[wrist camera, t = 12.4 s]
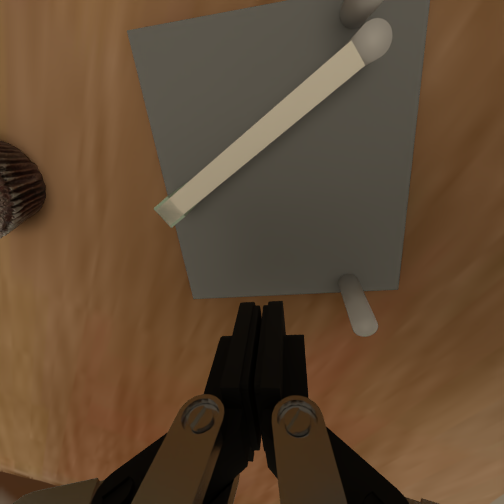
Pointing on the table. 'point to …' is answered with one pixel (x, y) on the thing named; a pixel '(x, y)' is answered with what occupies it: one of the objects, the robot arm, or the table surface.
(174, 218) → the bar
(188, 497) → the robot arm
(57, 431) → the table surface
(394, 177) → the gate base
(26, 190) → the cupcake
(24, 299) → the table surface
